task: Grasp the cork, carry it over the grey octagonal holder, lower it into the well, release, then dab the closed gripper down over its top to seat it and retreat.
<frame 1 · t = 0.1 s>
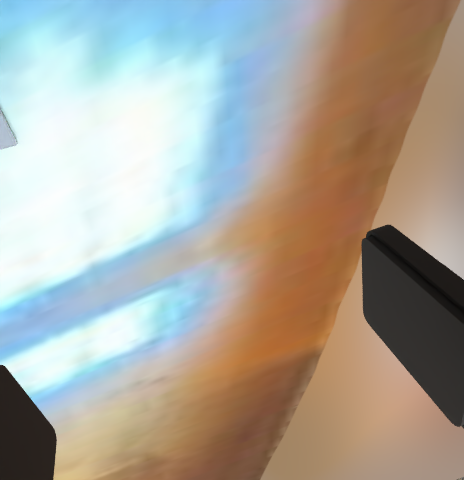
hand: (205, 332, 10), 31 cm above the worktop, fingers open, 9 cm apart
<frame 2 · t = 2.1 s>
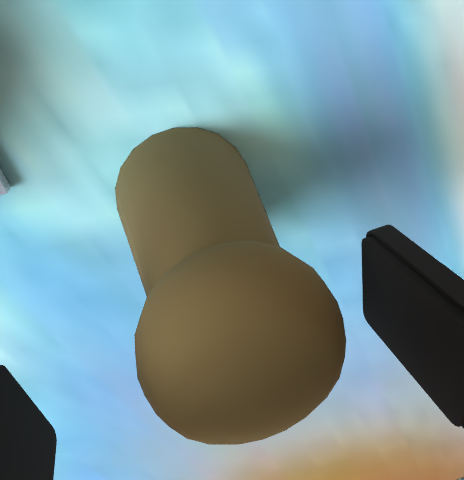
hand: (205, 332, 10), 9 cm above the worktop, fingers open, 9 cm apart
cork: (185, 193, 18), on the worktop
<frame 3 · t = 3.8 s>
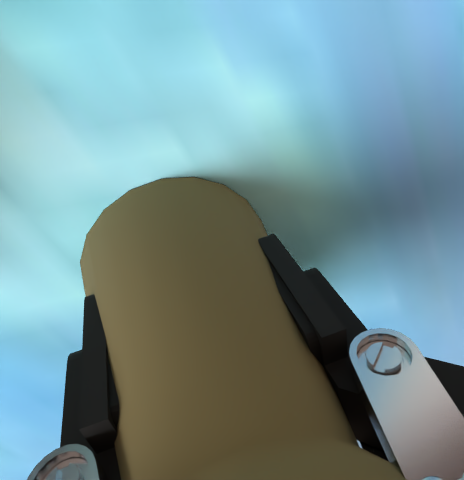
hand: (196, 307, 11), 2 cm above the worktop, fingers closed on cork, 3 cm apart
cork: (178, 261, 13), on the worktop, touching gripper
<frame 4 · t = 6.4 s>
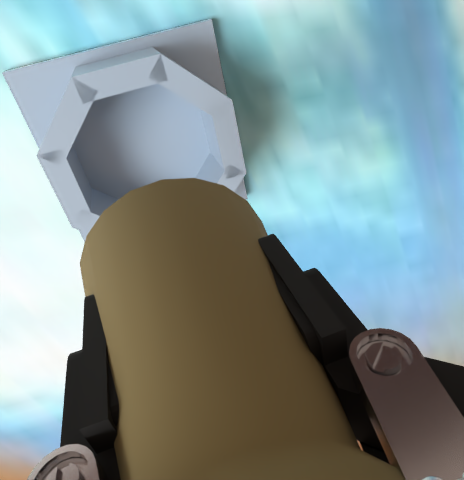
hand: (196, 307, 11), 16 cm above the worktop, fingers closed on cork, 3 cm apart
cork: (178, 261, 13), point 13 cm above the worktop, touching gripper
grey octagonal holder: (143, 142, 24), on the worktop
when the fingers open (4 cm above the worktop, at t = 9.0 s): cork drops 1 cm, resting on grey octagonal holder.
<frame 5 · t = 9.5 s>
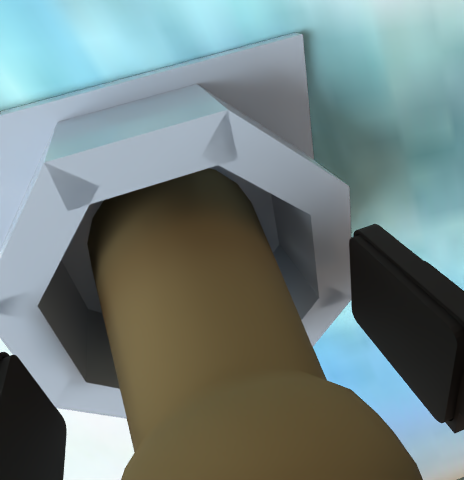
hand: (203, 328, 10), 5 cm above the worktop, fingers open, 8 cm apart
cork: (176, 241, 14), resting on grey octagonal holder
grey octagonal holder: (172, 234, 15), on the worktop
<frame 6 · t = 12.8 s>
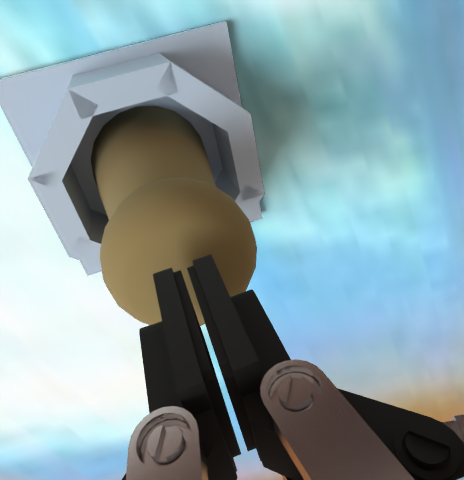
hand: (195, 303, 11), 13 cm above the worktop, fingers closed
cork: (150, 162, 21), resting on grey octagonal holder
grey octagonal holder: (148, 158, 22), on the worktop
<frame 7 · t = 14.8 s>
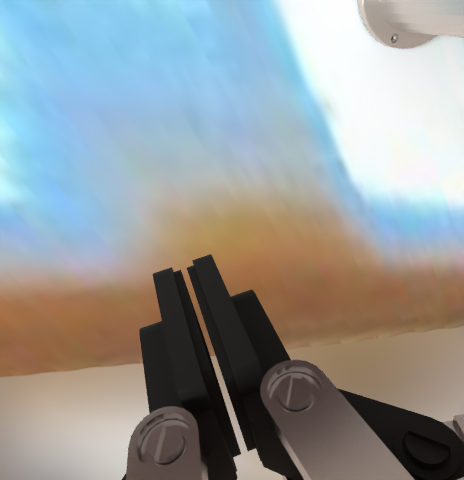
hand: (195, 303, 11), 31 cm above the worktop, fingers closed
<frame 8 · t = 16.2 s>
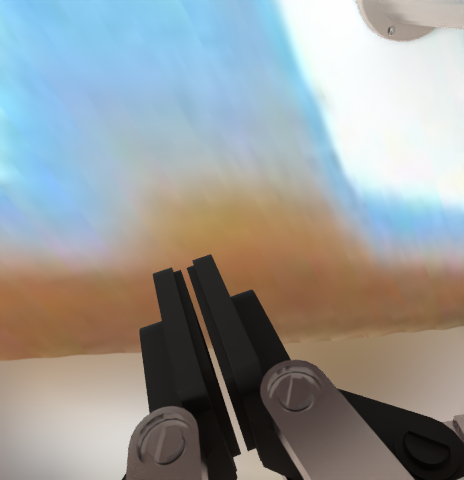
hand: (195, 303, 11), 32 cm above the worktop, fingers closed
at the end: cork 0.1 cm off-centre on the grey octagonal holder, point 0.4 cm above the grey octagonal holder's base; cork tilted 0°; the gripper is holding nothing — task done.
